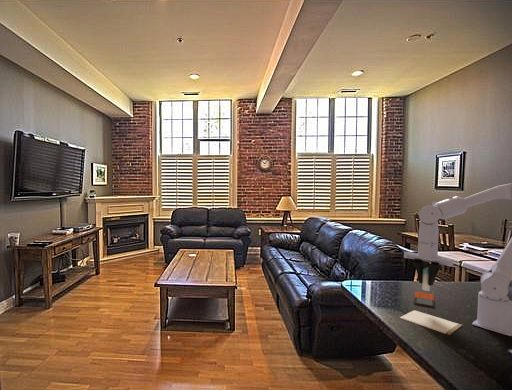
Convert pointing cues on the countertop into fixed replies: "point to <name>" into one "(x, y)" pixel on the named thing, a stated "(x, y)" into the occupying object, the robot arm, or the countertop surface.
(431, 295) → the phone
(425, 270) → the marker
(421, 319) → the notepad
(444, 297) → the countertop surface
